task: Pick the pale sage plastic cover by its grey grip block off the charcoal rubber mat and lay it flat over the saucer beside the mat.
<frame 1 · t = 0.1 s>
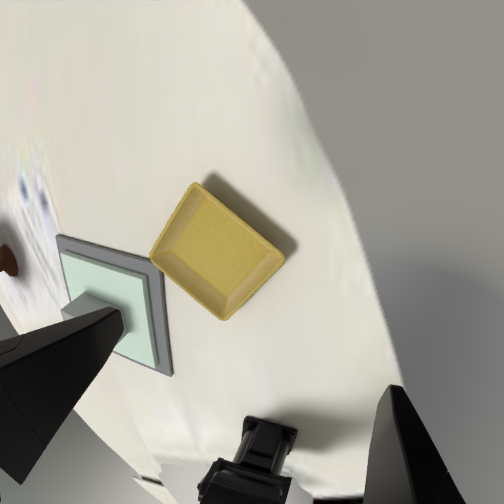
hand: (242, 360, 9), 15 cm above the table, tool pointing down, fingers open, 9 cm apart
ice cream bowl: (10, 260, 39), on the table
cover: (109, 308, 32), resting on mat
saucer: (220, 246, 26), on the table
mat: (112, 306, 33), on the table
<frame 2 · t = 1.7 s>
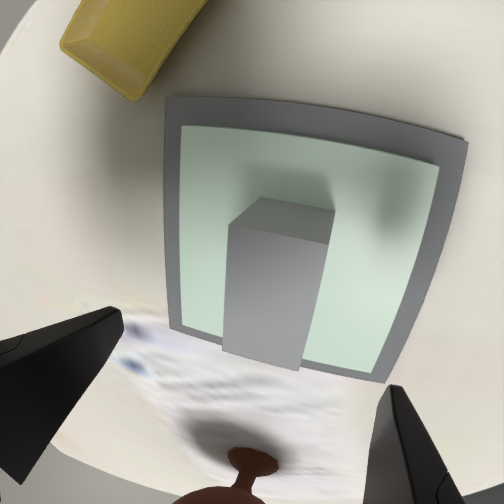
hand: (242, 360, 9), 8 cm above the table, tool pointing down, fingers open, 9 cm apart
ice cream bowl: (253, 459, 27), on the table
cover: (291, 255, 16), resting on mat
saucer: (149, 14, 14), on the table
mat: (293, 251, 16), on the table
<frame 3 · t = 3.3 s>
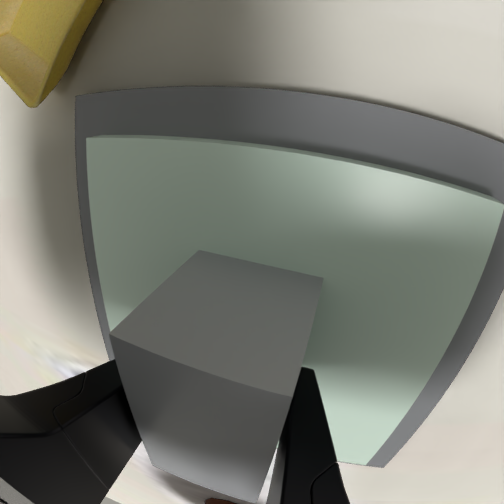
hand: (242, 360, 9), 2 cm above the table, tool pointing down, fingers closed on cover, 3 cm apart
cover: (256, 331, 10), resting on mat, touching gripper
mat: (261, 322, 11), on the table
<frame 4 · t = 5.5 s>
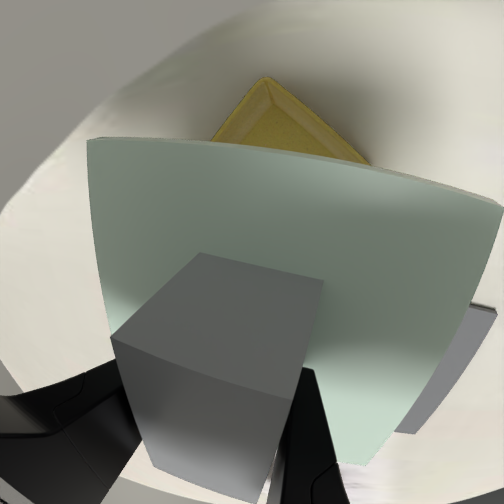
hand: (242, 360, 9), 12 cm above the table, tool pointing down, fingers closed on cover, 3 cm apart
cover: (257, 332, 10), point 11 cm above the table, touching gripper
saucer: (282, 172, 19), on the table
mat: (375, 367, 22), on the table
when the fingers open (4 cm above the table, at t = 7.9 s): cover drops 1 cm, resting on saucer.
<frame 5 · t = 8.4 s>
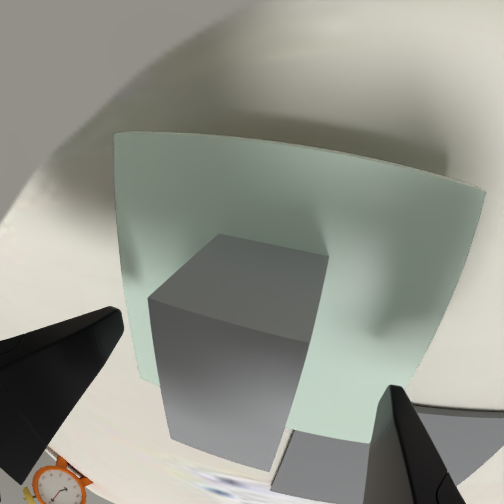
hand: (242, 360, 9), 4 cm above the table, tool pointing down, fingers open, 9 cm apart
cover: (268, 310, 12), point 2 cm above the table, touching saucer
alarm clock: (75, 469, 52), on the table
mat: (387, 468, 16), on the table
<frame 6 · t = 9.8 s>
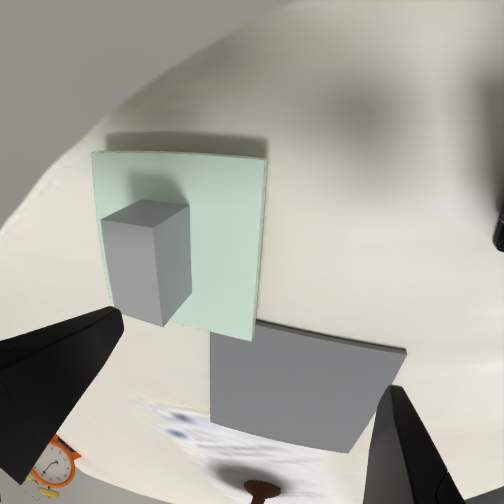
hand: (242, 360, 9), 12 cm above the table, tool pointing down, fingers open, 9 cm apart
ice cream bowl: (262, 486, 36), on the table
cover: (172, 242, 20), point 1 cm above the table, touching saucer
alarm clock: (65, 444, 59), on the table
mat: (293, 396, 25), on the table
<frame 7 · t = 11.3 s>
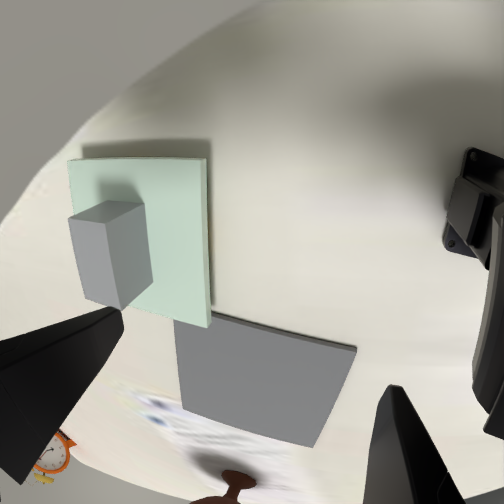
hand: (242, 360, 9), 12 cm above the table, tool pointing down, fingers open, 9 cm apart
ice cream bowl: (239, 477, 38), on the table
cover: (136, 237, 22), point 1 cm above the table, touching saucer
alarm clock: (62, 432, 62), on the table
mat: (253, 386, 27), on the table
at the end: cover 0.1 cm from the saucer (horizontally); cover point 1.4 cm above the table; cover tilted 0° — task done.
